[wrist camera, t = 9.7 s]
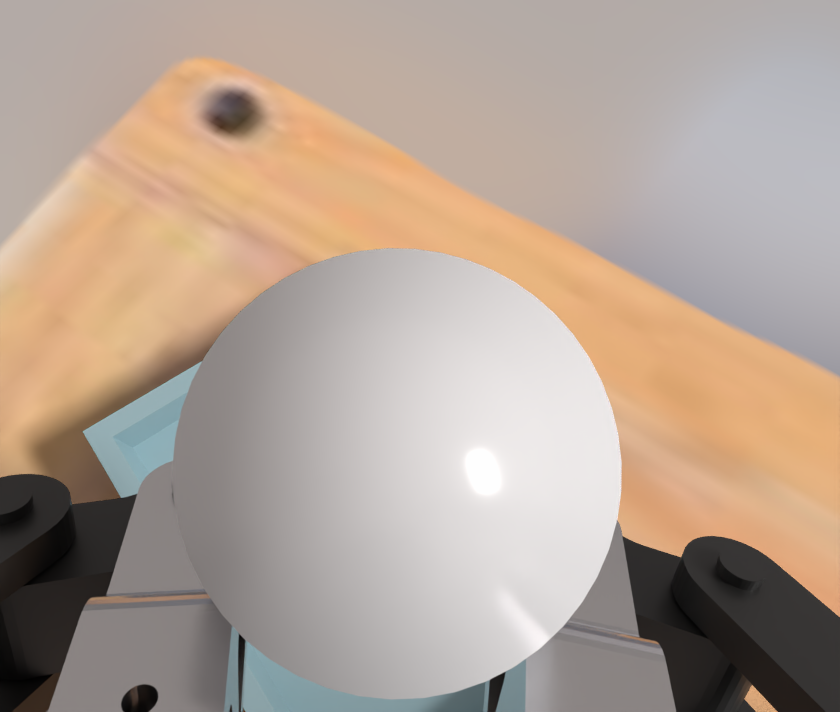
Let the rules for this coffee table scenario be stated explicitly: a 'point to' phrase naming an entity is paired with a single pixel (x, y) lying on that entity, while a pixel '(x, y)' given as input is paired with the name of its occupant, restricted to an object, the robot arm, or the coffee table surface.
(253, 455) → the white light bulb
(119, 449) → the parts tray
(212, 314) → the coffee table surface
